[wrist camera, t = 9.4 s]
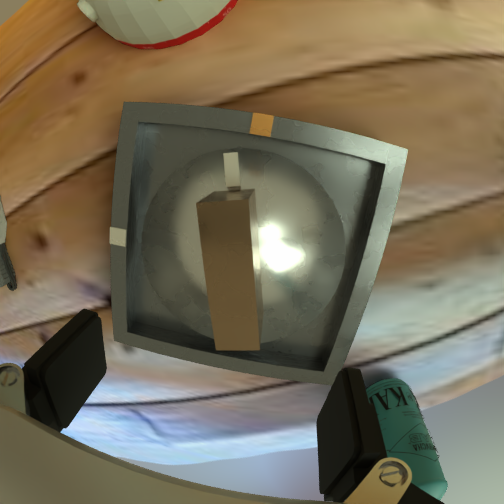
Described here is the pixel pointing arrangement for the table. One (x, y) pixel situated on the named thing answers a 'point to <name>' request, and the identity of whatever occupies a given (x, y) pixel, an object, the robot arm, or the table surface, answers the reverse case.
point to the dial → (243, 247)
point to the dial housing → (285, 145)
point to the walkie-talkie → (5, 256)
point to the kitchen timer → (156, 19)
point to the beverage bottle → (407, 434)
